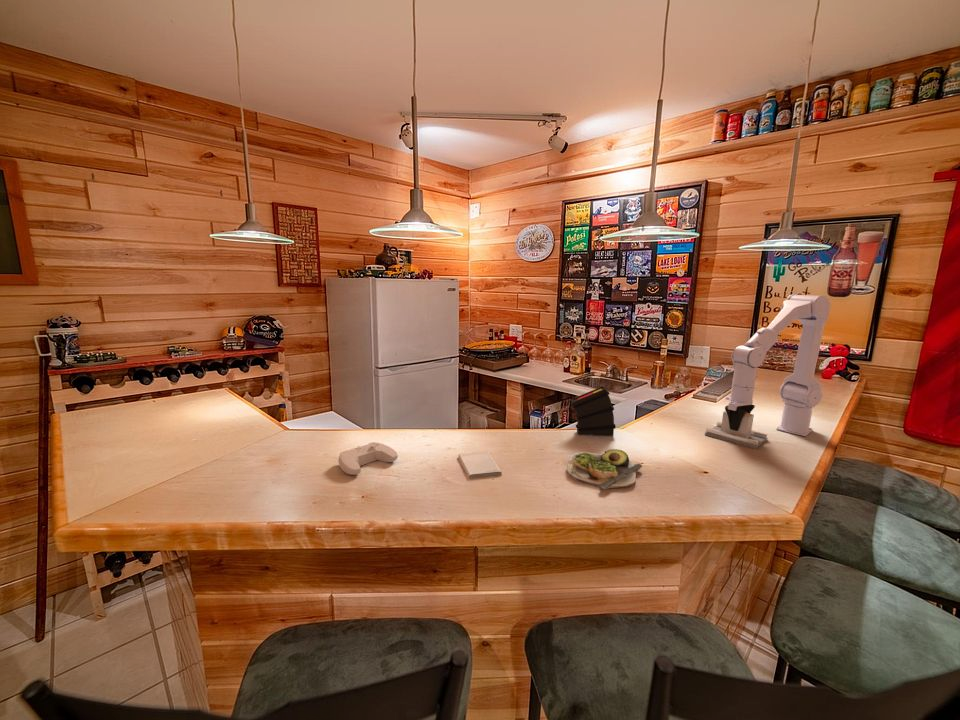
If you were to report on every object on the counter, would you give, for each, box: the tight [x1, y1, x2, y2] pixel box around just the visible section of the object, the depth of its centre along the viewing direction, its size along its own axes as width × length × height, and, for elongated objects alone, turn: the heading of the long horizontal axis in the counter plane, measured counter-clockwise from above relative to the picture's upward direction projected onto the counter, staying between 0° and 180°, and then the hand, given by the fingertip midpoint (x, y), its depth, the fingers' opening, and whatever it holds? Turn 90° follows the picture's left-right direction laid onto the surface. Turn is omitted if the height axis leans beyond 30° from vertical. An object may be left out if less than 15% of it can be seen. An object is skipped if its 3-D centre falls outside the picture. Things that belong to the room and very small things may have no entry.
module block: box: [721, 410, 754, 438], centre depth 130 cm, size 4×7×7 cm, turn 41°
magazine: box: [570, 385, 617, 437], centre depth 131 cm, size 4×13×15 cm, turn 88°
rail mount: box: [704, 421, 769, 450], centre depth 131 cm, size 11×14×2 cm
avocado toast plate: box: [566, 448, 643, 490], centre depth 104 cm, size 19×18×5 cm
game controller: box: [337, 441, 399, 476], centre depth 107 cm, size 14×4×10 cm
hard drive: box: [458, 451, 503, 480], centre depth 108 cm, size 2×8×12 cm
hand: (736, 428), depth 130 cm, fingers closed on module block, 4 cm apart
